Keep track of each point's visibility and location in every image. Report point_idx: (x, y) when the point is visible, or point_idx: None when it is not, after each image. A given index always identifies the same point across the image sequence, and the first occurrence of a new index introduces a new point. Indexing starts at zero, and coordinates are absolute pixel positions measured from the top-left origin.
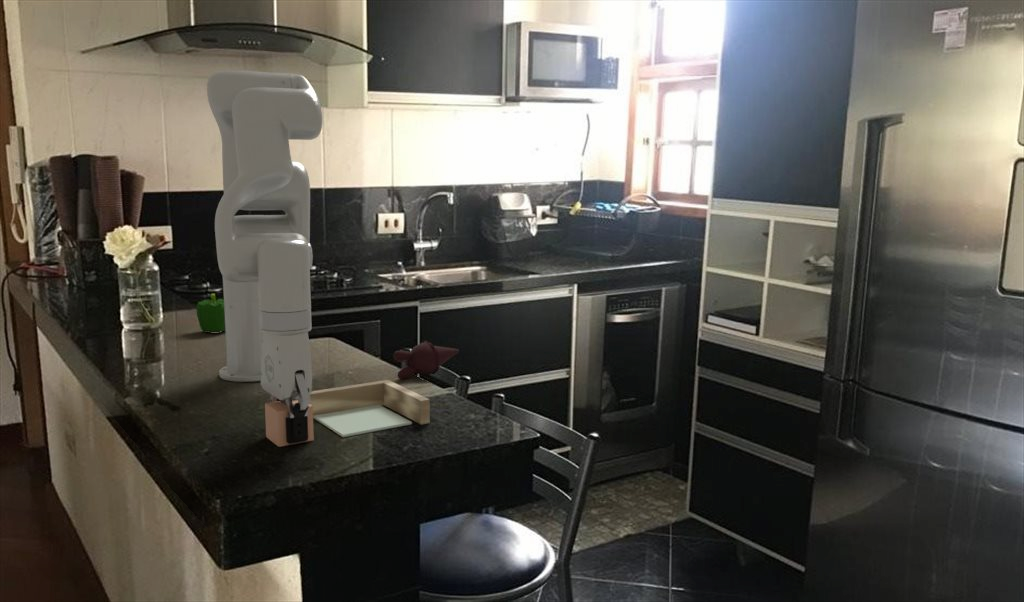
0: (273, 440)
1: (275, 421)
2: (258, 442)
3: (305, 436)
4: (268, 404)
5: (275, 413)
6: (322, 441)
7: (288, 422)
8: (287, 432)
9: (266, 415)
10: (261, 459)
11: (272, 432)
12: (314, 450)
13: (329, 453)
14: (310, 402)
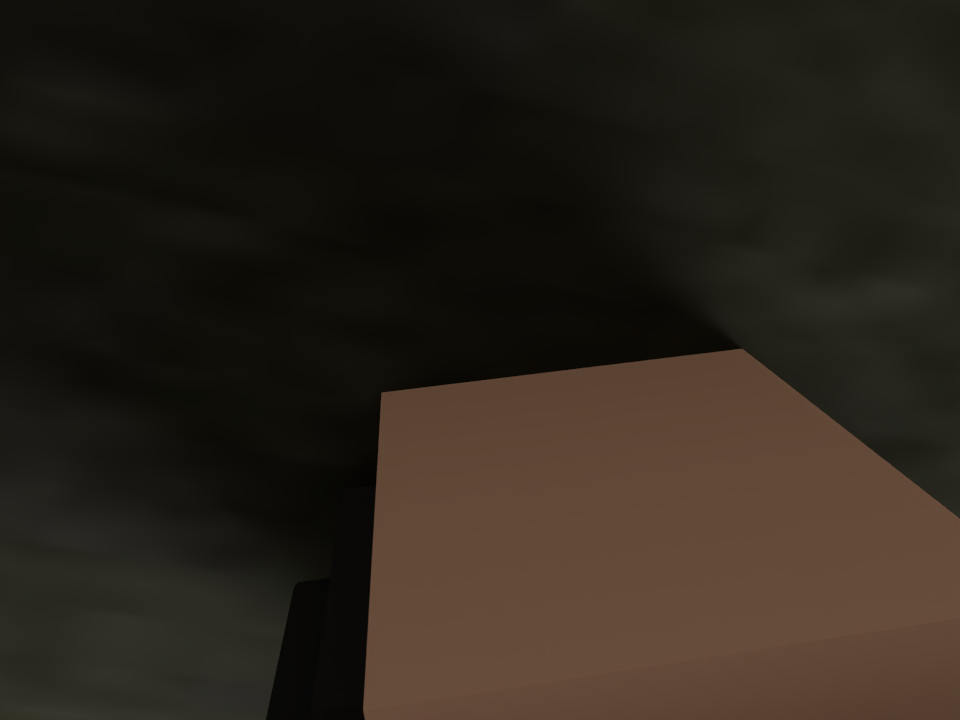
0: (538, 384)
1: (480, 539)
2: (622, 242)
3: None
4: (939, 640)
5: (471, 641)
6: None
7: (320, 673)
8: (336, 561)
9: (859, 481)
10: (8, 136)
11: (575, 419)
12: (142, 632)
13: (16, 712)
14: None
